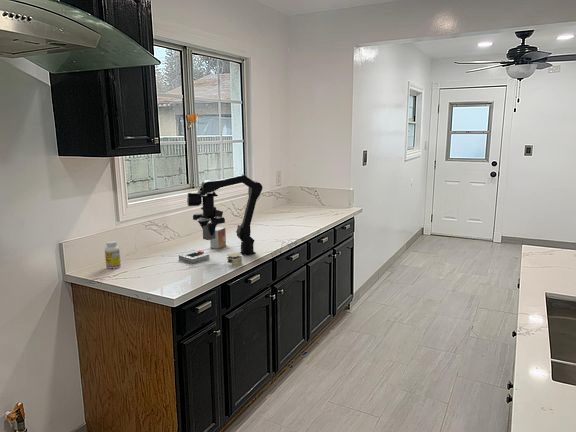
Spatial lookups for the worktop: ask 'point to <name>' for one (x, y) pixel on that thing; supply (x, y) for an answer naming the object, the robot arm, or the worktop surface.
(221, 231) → the small box
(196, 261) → the socket plate
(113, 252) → the supplement bottle
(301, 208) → the worktop surface
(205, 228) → the plug
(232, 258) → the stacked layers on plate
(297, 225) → the worktop surface
